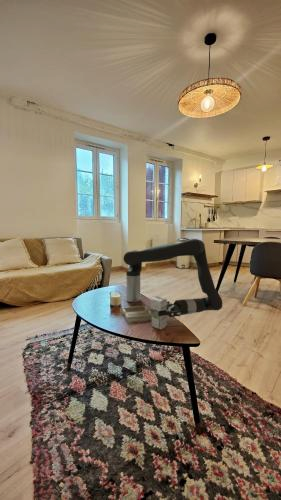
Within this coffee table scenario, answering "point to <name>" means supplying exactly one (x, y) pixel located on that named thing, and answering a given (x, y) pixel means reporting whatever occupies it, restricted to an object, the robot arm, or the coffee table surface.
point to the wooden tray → (136, 314)
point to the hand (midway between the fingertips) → (155, 310)
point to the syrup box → (156, 306)
